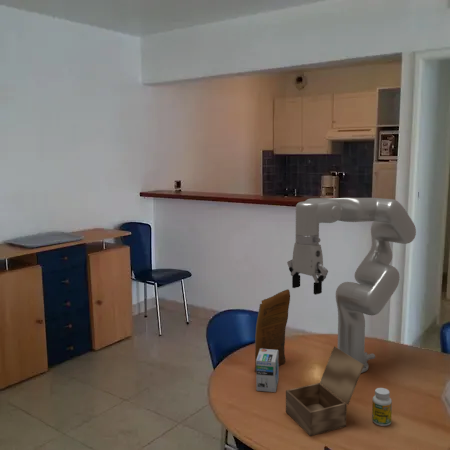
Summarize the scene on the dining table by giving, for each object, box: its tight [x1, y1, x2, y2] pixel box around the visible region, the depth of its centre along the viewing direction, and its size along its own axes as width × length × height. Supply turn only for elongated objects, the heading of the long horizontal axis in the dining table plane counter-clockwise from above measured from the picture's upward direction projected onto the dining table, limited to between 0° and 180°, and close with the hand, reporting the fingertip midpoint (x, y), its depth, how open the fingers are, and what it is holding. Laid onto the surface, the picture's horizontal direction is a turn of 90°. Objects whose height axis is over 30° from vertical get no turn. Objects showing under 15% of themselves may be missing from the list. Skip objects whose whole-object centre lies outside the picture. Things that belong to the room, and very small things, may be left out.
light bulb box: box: [255, 349, 280, 393], centre depth 166 cm, size 11×7×11 cm, turn 168°
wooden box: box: [285, 382, 348, 437], centre depth 145 cm, size 12×14×7 cm
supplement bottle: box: [371, 387, 393, 427], centre depth 143 cm, size 5×5×10 cm
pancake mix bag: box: [254, 288, 291, 373], centre depth 179 cm, size 7×19×28 cm, turn 132°
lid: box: [319, 346, 364, 405], centre depth 147 cm, size 12×14×1 cm
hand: (306, 290), depth 162 cm, fingers open, 9 cm apart
